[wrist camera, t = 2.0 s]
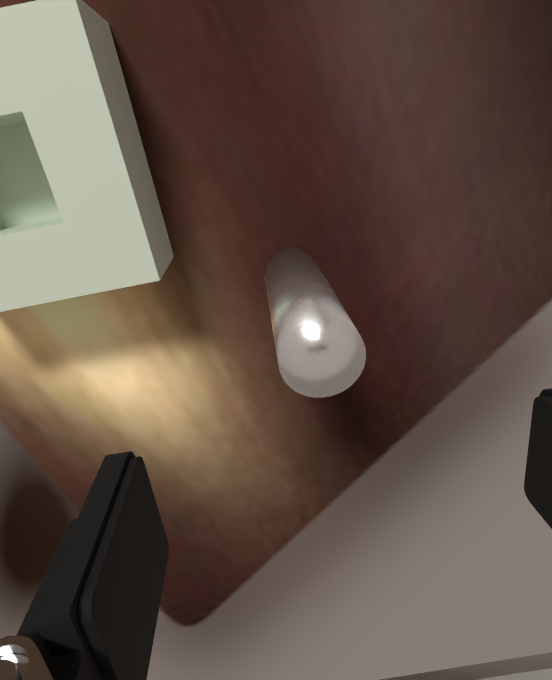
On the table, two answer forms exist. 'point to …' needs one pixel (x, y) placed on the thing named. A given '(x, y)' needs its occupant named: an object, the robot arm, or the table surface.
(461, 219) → the table surface
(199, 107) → the table surface
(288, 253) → the steel peg
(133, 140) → the socket block
